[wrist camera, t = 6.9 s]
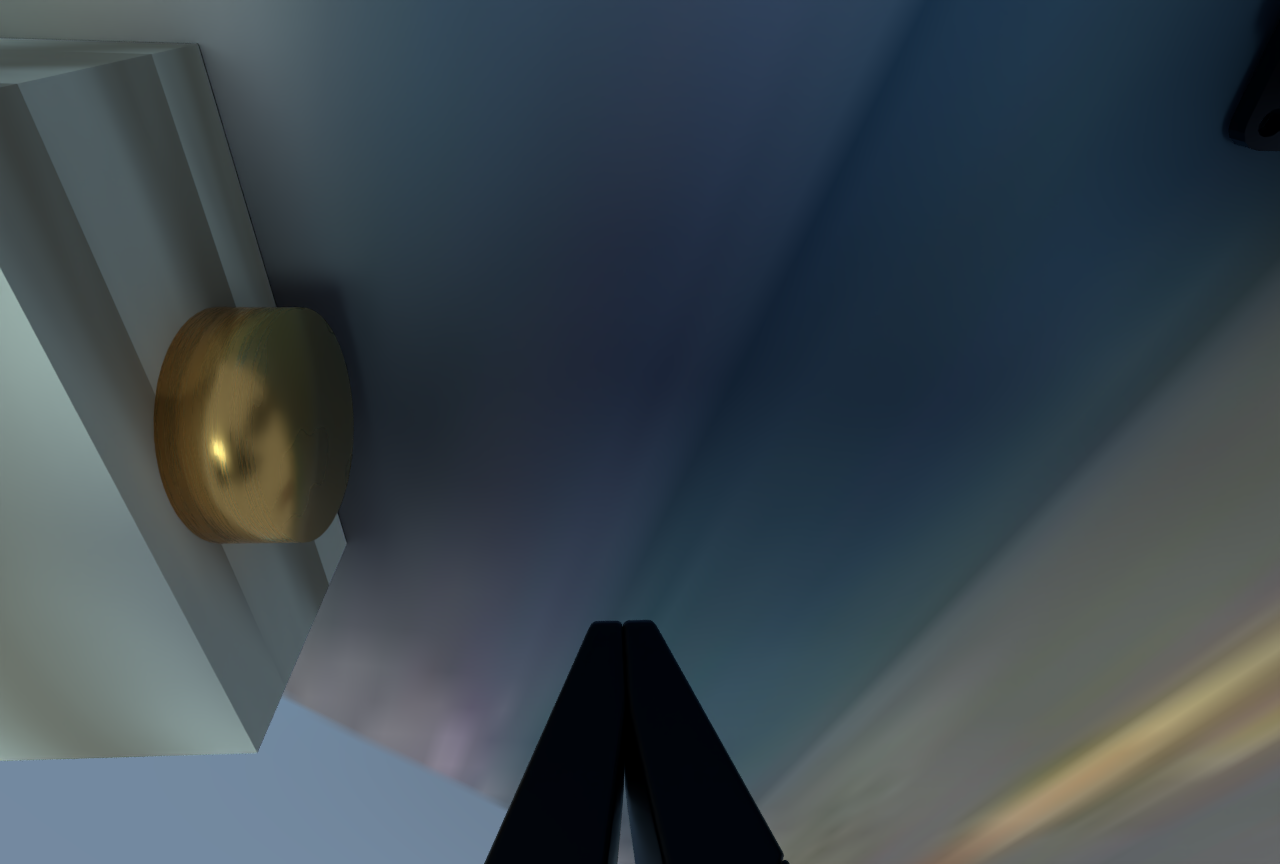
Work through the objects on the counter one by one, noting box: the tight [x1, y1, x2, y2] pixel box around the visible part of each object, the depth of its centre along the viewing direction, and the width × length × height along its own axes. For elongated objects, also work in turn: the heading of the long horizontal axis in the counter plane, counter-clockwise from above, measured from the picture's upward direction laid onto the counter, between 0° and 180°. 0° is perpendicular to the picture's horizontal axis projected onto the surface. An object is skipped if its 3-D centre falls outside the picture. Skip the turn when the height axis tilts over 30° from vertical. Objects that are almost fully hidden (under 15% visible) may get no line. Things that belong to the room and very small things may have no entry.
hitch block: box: [0, 38, 347, 761], centre depth 13 cm, size 5×12×6 cm, turn 178°
